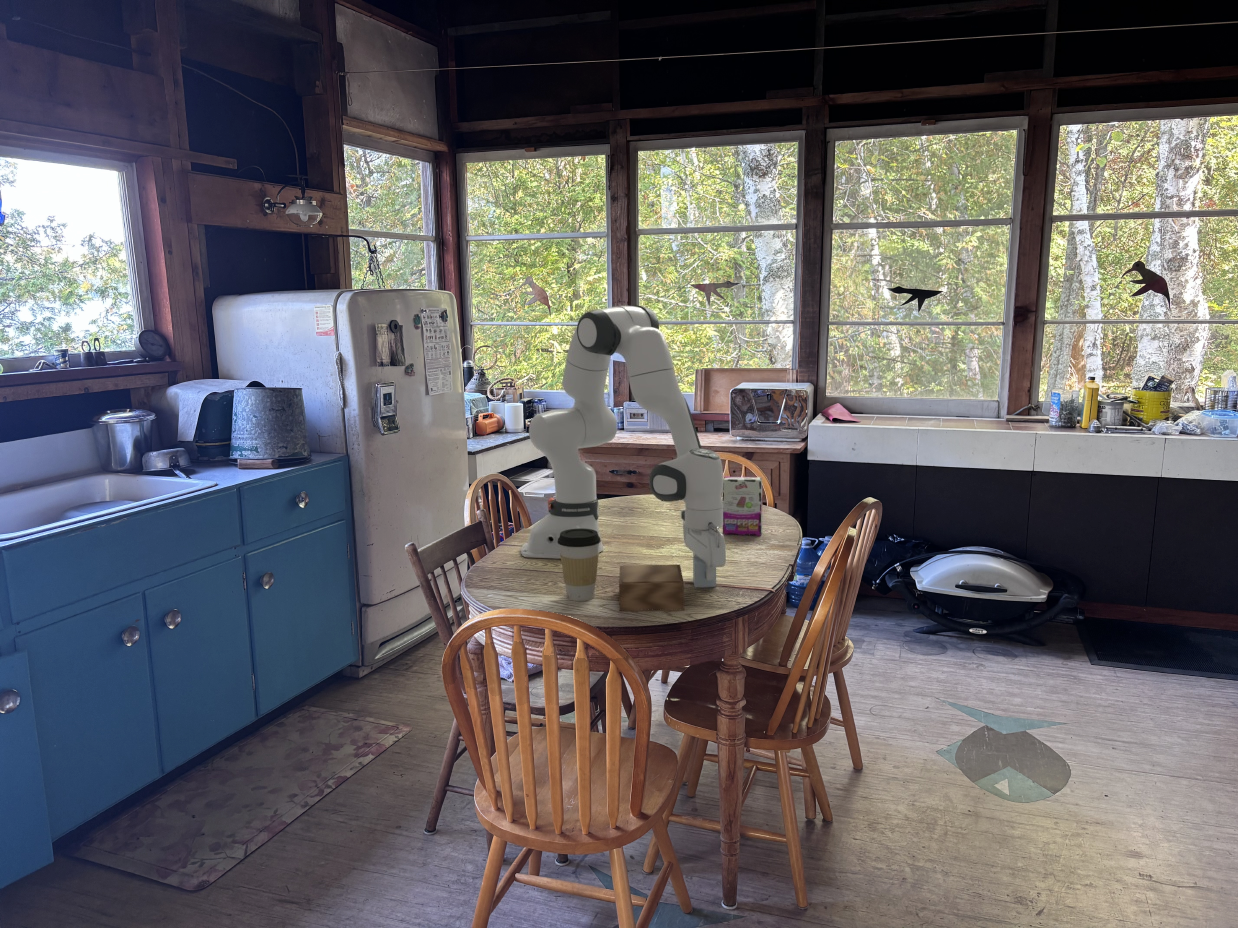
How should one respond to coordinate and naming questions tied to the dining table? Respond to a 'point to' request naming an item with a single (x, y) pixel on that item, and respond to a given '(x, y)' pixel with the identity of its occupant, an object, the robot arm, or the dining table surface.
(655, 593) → the block
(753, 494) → the candy bar box
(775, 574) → the dining table surface
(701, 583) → the painted block
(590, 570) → the coffee cup
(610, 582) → the dining table surface
